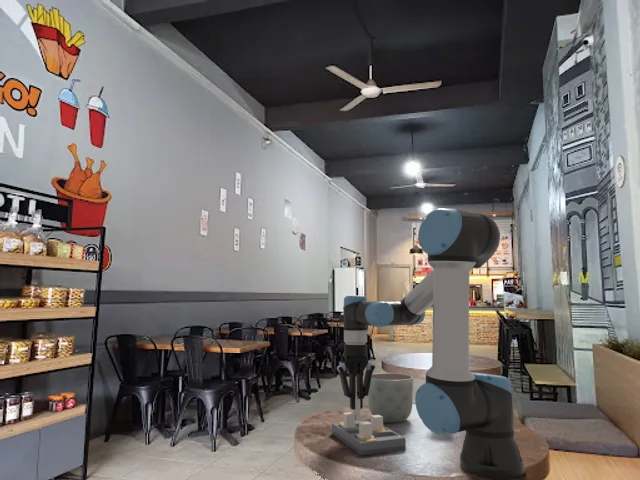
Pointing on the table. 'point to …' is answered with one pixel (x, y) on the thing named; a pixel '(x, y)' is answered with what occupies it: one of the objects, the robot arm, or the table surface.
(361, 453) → the switch bank
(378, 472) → the table surface
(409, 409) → the concrete flower pot
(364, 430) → the tab
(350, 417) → the tab
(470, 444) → the robot arm
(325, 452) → the table surface
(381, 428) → the tab
